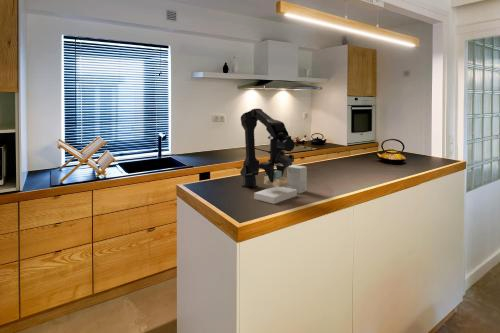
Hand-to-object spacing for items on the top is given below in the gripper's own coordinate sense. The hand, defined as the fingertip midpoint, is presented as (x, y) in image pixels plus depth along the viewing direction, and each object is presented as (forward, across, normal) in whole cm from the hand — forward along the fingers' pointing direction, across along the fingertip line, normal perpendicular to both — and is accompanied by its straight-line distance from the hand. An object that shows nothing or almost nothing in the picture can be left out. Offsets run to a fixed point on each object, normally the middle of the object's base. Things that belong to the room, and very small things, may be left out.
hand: (275, 181), depth 152 cm
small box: (+8, +16, -1) cm, 18 cm away
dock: (+8, 0, 0) cm, 8 cm away
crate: (-2, 0, 0) cm, 2 cm away
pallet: (+2, 0, 0) cm, 2 cm away
